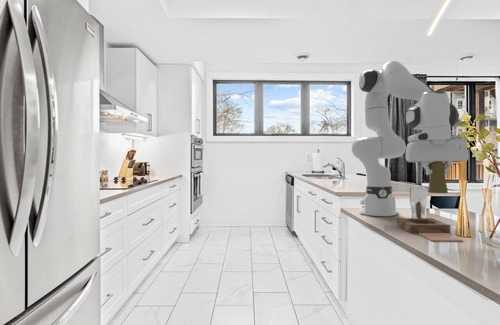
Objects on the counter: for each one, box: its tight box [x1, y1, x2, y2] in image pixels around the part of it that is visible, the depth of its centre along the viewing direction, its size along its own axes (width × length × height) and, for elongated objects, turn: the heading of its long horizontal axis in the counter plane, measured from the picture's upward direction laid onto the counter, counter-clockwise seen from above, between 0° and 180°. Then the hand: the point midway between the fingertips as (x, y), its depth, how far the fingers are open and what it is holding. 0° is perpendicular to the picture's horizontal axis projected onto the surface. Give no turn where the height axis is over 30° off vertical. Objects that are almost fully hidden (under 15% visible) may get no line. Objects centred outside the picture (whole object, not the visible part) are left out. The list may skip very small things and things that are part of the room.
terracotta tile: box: [418, 233, 464, 243], centre depth 112 cm, size 10×10×1 cm
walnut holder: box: [396, 217, 451, 234], centre depth 125 cm, size 14×14×3 cm
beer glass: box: [408, 186, 428, 218], centre depth 140 cm, size 7×7×15 cm
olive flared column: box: [427, 161, 449, 194], centre depth 113 cm, size 6×6×11 cm
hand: (437, 174), depth 113 cm, fingers closed on olive flared column, 4 cm apart
